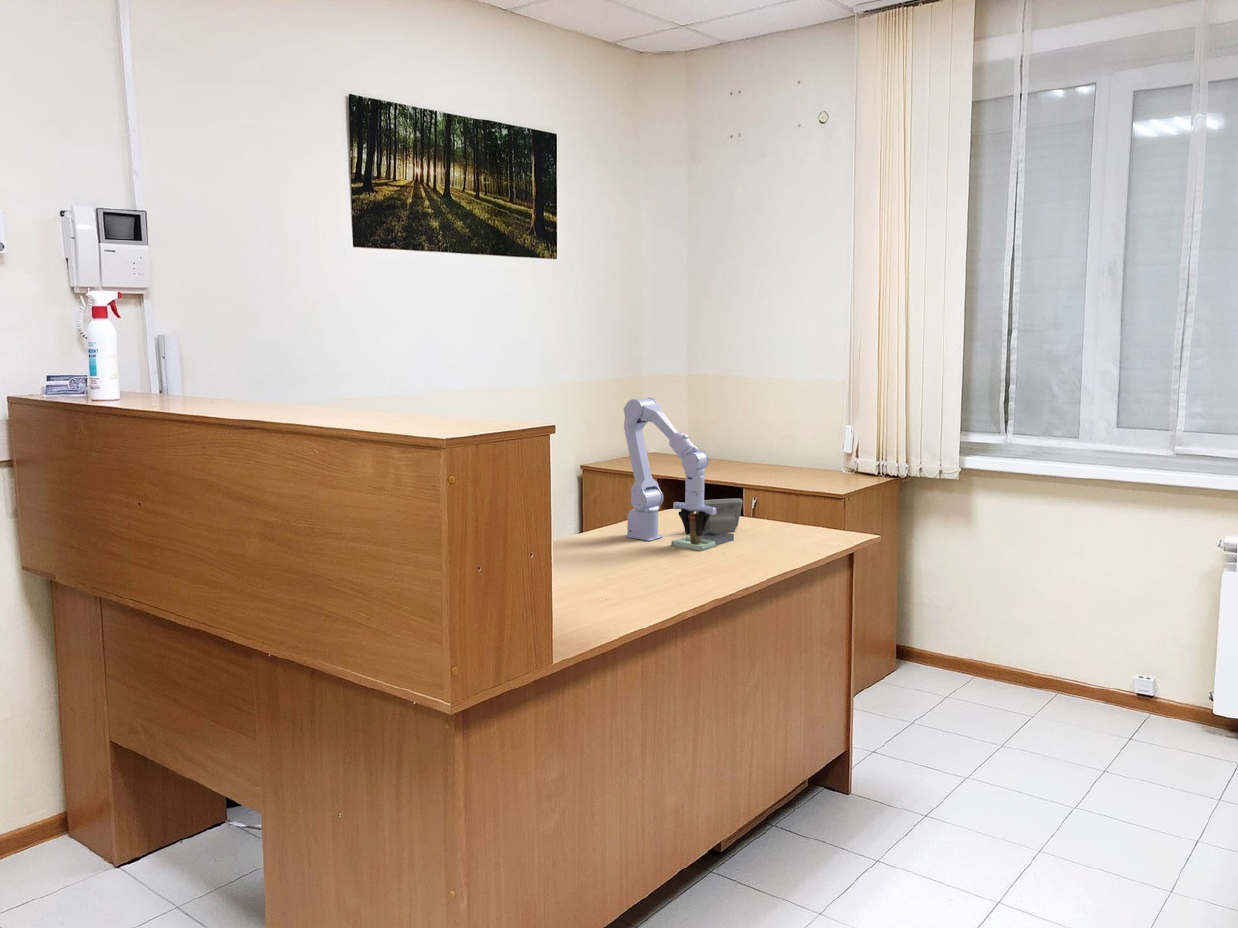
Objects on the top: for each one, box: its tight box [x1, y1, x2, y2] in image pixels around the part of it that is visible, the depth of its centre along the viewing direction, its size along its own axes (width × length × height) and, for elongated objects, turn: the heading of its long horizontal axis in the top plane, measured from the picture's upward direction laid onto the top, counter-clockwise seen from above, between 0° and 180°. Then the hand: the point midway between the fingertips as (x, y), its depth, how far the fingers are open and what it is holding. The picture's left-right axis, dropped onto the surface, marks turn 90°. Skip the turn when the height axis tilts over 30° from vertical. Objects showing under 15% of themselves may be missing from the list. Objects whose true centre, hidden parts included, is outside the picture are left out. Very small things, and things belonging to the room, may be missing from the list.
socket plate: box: [701, 530, 735, 547], centre depth 310 cm, size 10×10×2 cm
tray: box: [671, 536, 717, 552], centre depth 303 cm, size 11×8×2 cm
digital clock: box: [695, 498, 744, 533], centre depth 325 cm, size 16×9×11 cm, turn 98°
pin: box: [688, 512, 701, 544], centre depth 302 cm, size 4×4×9 cm
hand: (693, 534), depth 302 cm, fingers closed on pin, 3 cm apart
